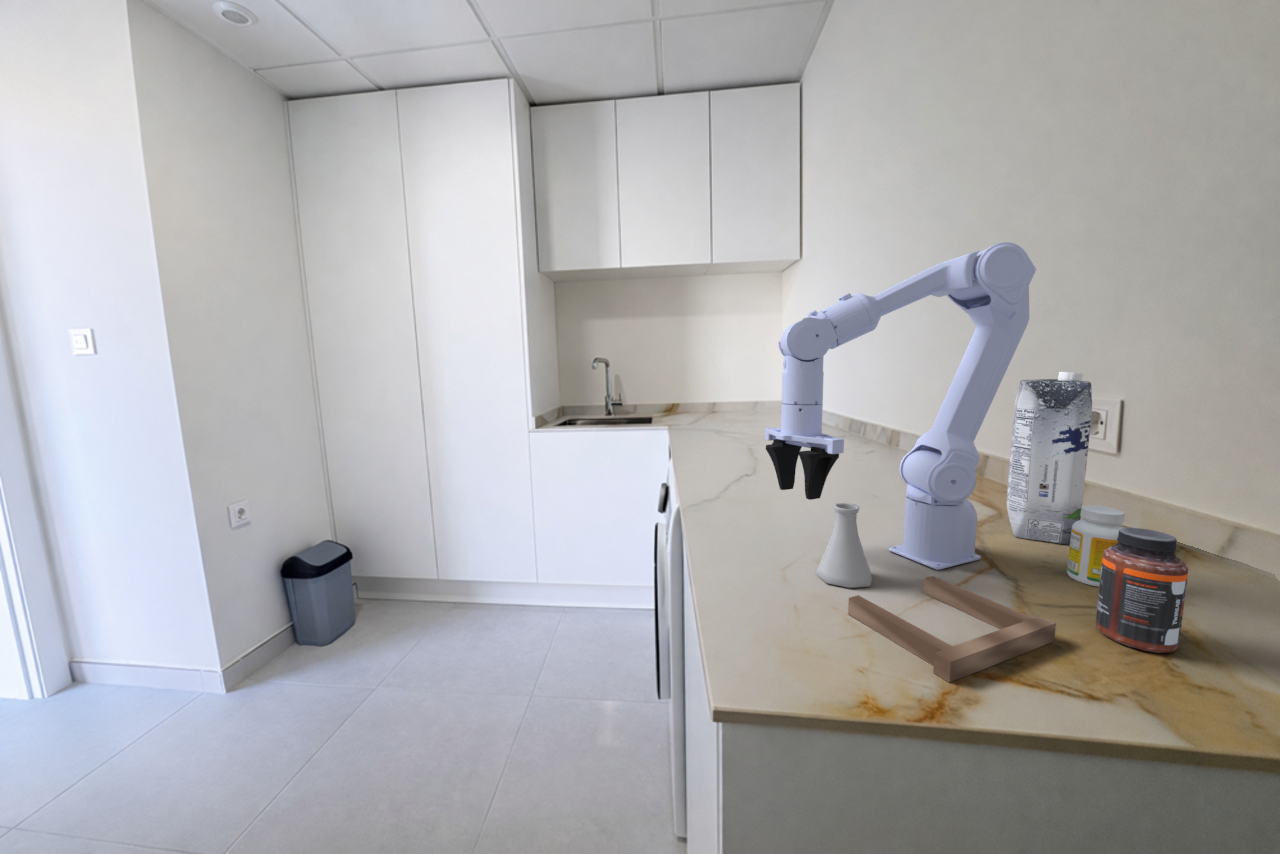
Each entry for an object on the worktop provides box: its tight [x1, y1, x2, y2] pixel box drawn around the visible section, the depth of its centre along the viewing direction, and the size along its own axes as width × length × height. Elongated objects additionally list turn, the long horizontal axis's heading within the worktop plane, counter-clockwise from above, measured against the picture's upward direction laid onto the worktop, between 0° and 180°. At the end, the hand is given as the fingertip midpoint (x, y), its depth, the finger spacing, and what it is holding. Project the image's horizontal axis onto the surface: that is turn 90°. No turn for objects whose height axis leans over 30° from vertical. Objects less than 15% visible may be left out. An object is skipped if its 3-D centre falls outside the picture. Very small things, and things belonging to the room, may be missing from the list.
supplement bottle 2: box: [1095, 527, 1189, 654], centre depth 48 cm, size 6×6×11 cm
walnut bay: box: [847, 575, 1057, 683], centre depth 51 cm, size 16×12×2 cm
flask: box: [815, 502, 873, 589], centre depth 63 cm, size 7×7×10 cm
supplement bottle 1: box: [1066, 504, 1126, 588], centre depth 61 cm, size 5×5×10 cm
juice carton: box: [1006, 371, 1093, 546], centre depth 77 cm, size 9×10×27 cm
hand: (799, 493), depth 71 cm, fingers open, 5 cm apart
